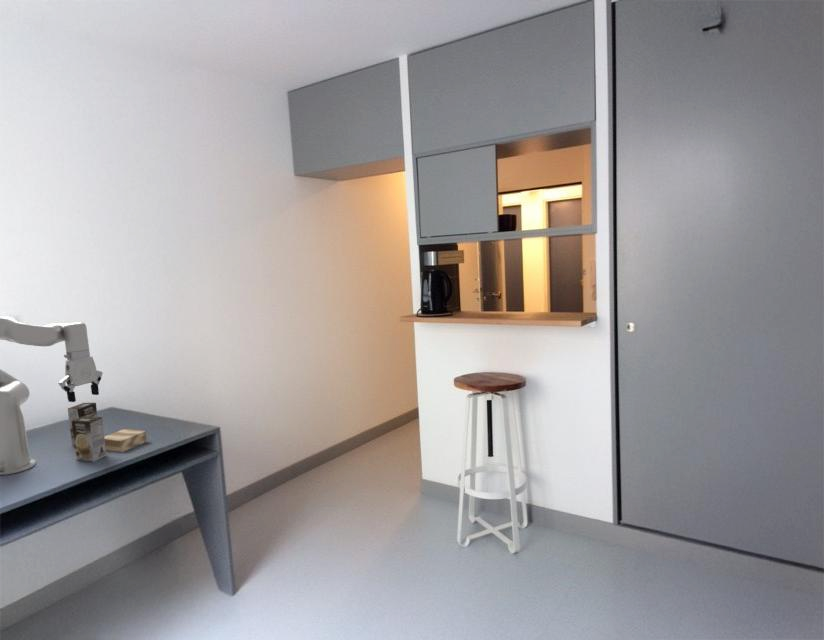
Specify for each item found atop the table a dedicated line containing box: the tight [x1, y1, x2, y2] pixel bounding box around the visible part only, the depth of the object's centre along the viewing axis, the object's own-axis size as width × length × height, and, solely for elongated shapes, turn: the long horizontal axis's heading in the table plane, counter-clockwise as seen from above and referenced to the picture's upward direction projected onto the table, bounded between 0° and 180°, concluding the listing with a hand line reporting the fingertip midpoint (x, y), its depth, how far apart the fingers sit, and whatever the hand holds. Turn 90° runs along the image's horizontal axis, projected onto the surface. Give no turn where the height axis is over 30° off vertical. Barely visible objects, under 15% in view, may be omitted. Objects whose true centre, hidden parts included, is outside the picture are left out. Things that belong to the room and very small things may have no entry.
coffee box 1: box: [67, 402, 99, 446], centre depth 227 cm, size 9×6×16 cm
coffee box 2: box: [71, 416, 107, 462], centre depth 208 cm, size 9×6×16 cm
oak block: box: [104, 428, 148, 453], centre depth 221 cm, size 12×12×5 cm
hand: (84, 398), depth 206 cm, fingers open, 9 cm apart
